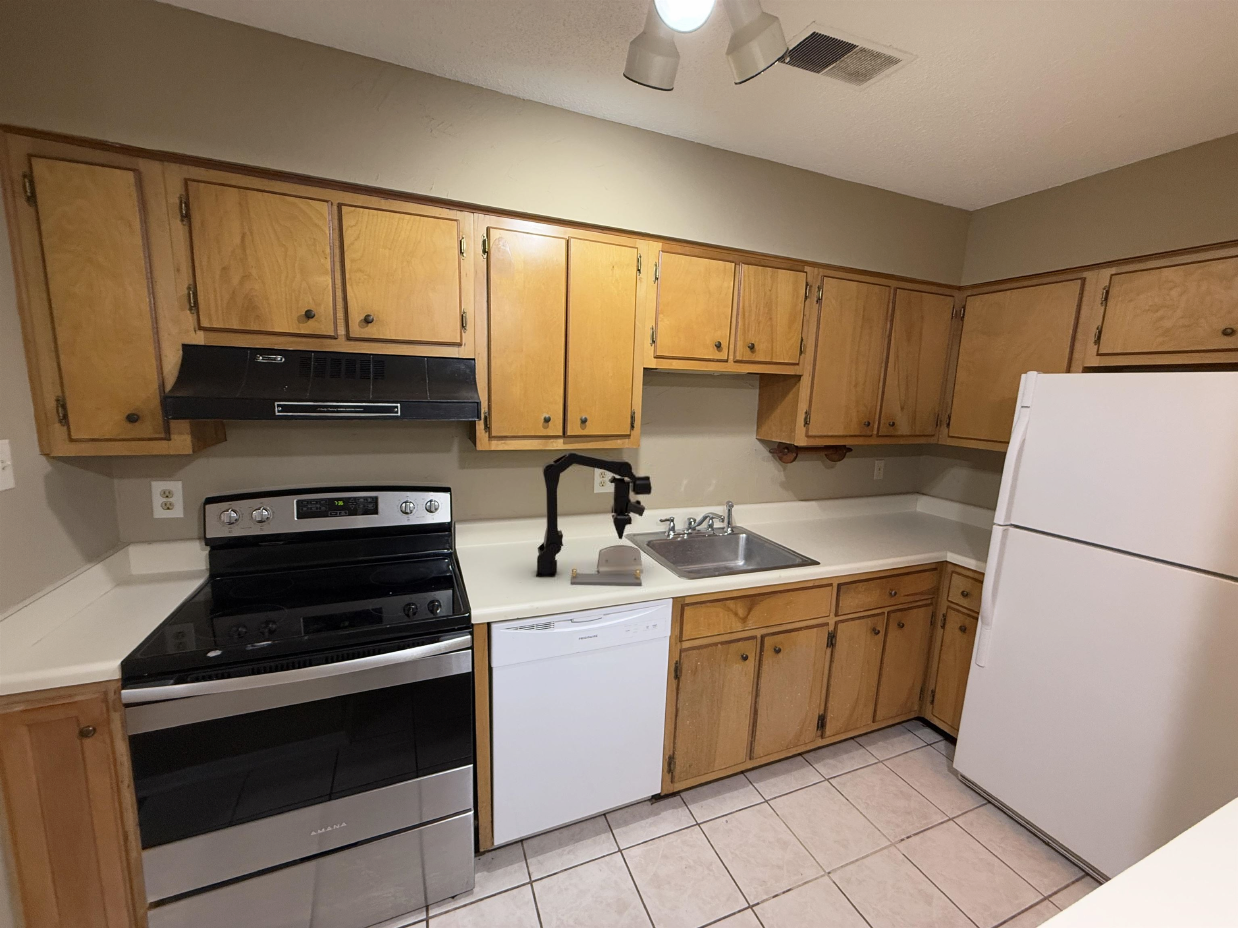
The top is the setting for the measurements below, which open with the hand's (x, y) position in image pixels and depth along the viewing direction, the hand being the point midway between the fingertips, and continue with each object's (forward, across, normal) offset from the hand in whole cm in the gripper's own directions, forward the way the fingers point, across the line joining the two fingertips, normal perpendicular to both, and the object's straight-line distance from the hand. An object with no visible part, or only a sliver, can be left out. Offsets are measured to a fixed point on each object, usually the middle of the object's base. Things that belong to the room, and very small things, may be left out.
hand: (620, 537), depth 182 cm
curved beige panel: (+14, -1, 0) cm, 14 cm away
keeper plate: (+13, -10, +5) cm, 17 cm away
